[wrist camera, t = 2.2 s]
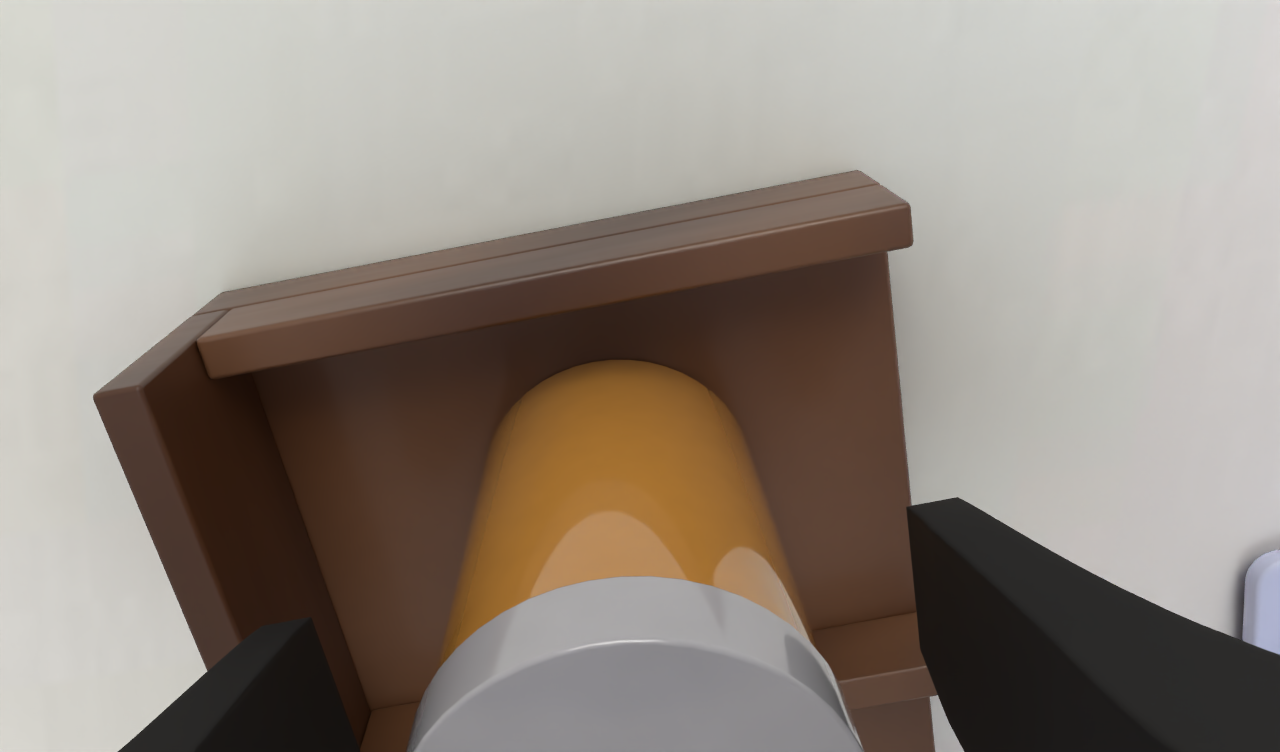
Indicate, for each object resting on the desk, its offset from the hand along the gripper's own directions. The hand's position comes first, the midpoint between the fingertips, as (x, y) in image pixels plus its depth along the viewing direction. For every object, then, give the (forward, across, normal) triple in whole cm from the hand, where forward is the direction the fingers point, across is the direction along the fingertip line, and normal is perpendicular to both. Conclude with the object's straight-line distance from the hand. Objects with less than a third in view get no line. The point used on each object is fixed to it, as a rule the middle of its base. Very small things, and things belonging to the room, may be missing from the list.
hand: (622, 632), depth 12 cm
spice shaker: (+4, 0, 0) cm, 4 cm away
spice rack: (+5, 0, +4) cm, 6 cm away
